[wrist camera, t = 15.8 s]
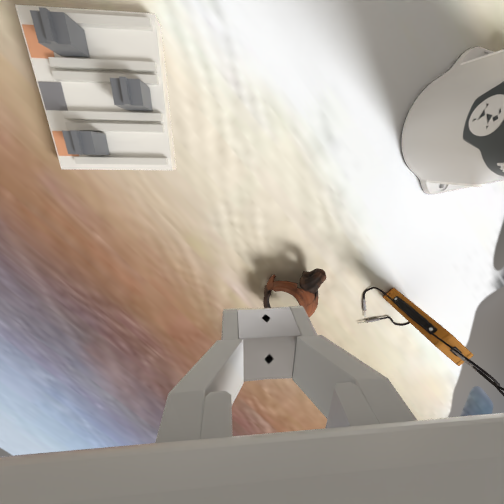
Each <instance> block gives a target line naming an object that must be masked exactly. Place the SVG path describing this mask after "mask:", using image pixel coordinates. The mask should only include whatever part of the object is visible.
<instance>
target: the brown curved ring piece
mask: <svg viewBox="0 0 504 504" xmlns="http://www.w3.org/2000/svg"><path fill="white" fill-rule="evenodd" d="M275 277H276V276H275V275H273V276H271V278H270V279H269V280H268V282H267V285H266V286H265V292H264V301H263V303H264V308H271V307H270V304H269V297H270V295H271V291H272V290H274V291H275V292H276V291H284V292H287V293H289V294H291V295H293V296H294V297H295V298H296V299H297V301H298V302H299V305H300V306H303V307H304V309H305V311H306V313H307V315H308V317H310V316H311V315H312V314H313V313H314V311H315V310H316V308H317V305H318V288H319V287H320V285H321V284H322V283H323V282H324V280H326V274H325V272H324V271H323V270H322V269H315V270H313V271H311V272H305V271H304V272H303V275H302V277H301V278H300V286H301V288H302V289H299V288H297V283H293V282H289V281H275V282H274V279H275Z"/></svg>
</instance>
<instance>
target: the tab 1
mask: <svg viewBox="0 0 504 504" xmlns="http://www.w3.org/2000/svg"><path fill="white" fill-rule="evenodd" d="M30 13H31V17H32V20H33V24H34V28H35V32H36V35H37V39H38V43H40V44H41V45H43V46H45V47H46V48H48V49H50V50H52V51H53V52H55V53H57V54H58V55H60V56H66V57H87V58H90V55H89V50H88V45H87V41H86V36H85V31H84V29H83V28H82V27H80V26H79V25H78V24H77V23H76V22H75V21H73V20H72V19H71V18H70V17H69V16H68V15H67V14H65V13H64V12H51V11H49V10H48V9H47V8H43V7H39V11H35V10H30Z"/></svg>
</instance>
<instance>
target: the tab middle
mask: <svg viewBox="0 0 504 504" xmlns="http://www.w3.org/2000/svg"><path fill="white" fill-rule="evenodd" d="M110 83H111V89H112V94H113V100H114V105H116V106H118V107H121V108H123V109H125V110H131V111H153V109H152V102H151V94H150V87H148V86H147V85H146V84H145V83H144V82H142V81H141V80H140V79H128V78H126V77H120V76H119V78H110Z"/></svg>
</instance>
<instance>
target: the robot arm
mask: <svg viewBox="0 0 504 504" xmlns="http://www.w3.org/2000/svg"><path fill="white" fill-rule="evenodd" d="M402 153H403V157H404V160H405V162H406V164H407V166H408V167H409V169H410V170H411V171H412V172H413V173H414V174H415V175H416V176H417V177H418V178H419V179H420V183H421V186H422V189H423V191H424V192H425V193H426V194H439V193H444V192H449V191H454V190H459V189H464V188H469V187H482V186H483V185H484V184H488V183H494V182H498V181H503V180H504V49H503V50H500V51H496V52H493V51H490V50H488V49H485V48H482V47H474V48H471V49H468V50H466V51H465V52H464V53H463V54H462V55H461V56H460V57H459V58H458V60H457V61H456V62H455V64H454V65H453V66H452V67H451V69H450V70H448V71H447V72H446V73H445V74H443V75H442V76H440V77H439V78H437V79H436V80H434V81H433V82H432V83H430V84H429V85H428V86H427V87H426V88H425V89H424V90H423V91H422V92H421V94H420V95H419V96H418V97H417V99H416V100H415V102H414V103H413V105H412V107H411V109H410V111H409V113H408V115H407V117H406V120H405V123H404V127H403V132H402ZM440 184H441V185H440ZM439 185H440V187H439ZM282 378H293V381H294V382H295V383H296V384H297V385H298V386H299V387H300V388H301V390H302V391H303V392H304V393H305V394H306V395H307V396H308V398H309V399H310V400H311V401H312V402H313V403H314V404H315V405H316V407H317V408H318V409H319V410H320V411H321V412H322V413H323V414H324V416H325V417H326V418H327V424H326V429H314V430H303V431H291V432H280V433H268V434H256V435H245V436H233V437H232V404H233V402H234V400H235V398H236V397H237V395H238V393H239V391H240V389H241V387H242V385H243V383H244V381H253V380H263V379H282ZM0 504H504V413H497V414H485V415H474V416H462V417H451V418H439V419H428V420H417V419H416V418H415V416H414V415H413V413H412V412H411V411H410V409H409V408H408V406H407V405H406V404H405V402H404V401H403V399H402V398H401V396H400V395H399V394H398V392H397V391H396V389H395V388H394V387H393V385H392V384H391V382H390V381H389V379H388V378H386V377H385V376H383V375H382V374H380V373H379V372H377V371H376V370H374V369H372V368H371V367H369V366H368V365H366V364H365V363H363V362H362V361H360V360H359V359H357V358H356V357H354V356H353V355H351V354H350V353H348V352H347V351H345V350H344V349H342V348H341V347H339V346H338V345H336V344H334V343H333V342H331V341H330V340H328V339H327V338H325V337H324V336H322V335H317V333H316V331H315V329H314V327H313V325H312V323H311V321H310V319H309V317H308V315H307V313H306V311H305V309H304V307H303V306H289V307H278V308H237V309H224V310H223V321H222V340H217V341H216V342H215V344H214V345H213V346H212V347H211V348H210V349H209V350H208V351H207V352H206V353H205V354H204V355H203V357H202V358H201V359H200V360H199V361H198V362H197V363H196V364H195V365H194V366H193V367H192V369H191V370H190V371H189V372H188V373H187V374H186V375H185V376H184V377H183V378H182V379H181V381H180V382H179V383H178V384H177V385H176V386H175V387H174V388H173V389H172V390H171V391H170V392H169V394H168V398H167V401H166V405H165V409H164V413H163V416H162V420H161V424H160V427H159V431H158V435H157V439H156V442H155V443H153V444H141V445H130V446H118V447H107V448H95V449H84V450H72V451H61V452H49V453H38V454H26V455H15V456H3V457H0Z"/></svg>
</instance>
